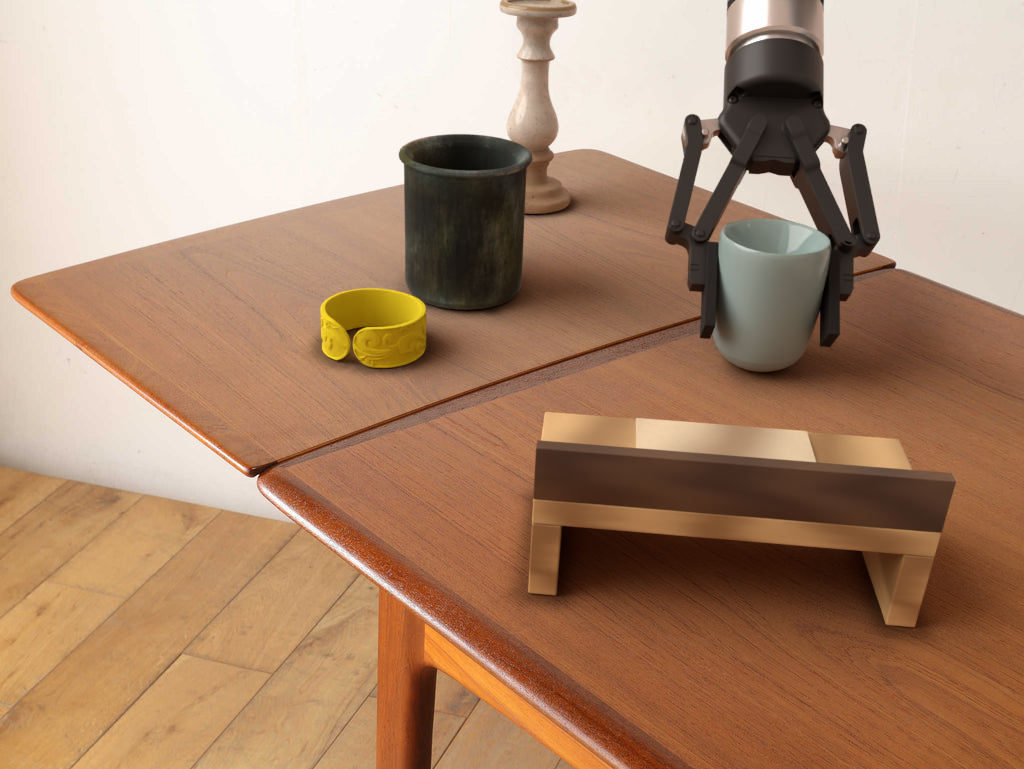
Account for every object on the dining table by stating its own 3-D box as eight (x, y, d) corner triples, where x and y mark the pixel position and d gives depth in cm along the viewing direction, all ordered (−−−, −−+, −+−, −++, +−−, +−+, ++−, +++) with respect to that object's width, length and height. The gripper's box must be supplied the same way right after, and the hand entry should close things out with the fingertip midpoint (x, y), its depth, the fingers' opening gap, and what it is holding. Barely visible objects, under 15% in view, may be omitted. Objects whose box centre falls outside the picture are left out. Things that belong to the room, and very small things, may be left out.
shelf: (877, 525, 62) (910, 391, 58) (915, 628, 54) (956, 481, 50) (539, 497, 63) (547, 364, 59) (527, 593, 55) (535, 448, 51)
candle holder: (540, 184, 118) (550, -7, 108) (586, 207, 111) (601, 6, 102) (472, 195, 113) (476, -3, 104) (516, 220, 107) (525, 10, 97)
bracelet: (348, 319, 85) (347, 281, 83) (441, 336, 83) (441, 297, 81) (304, 356, 78) (302, 316, 77) (403, 375, 76) (403, 334, 75)
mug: (398, 314, 86) (395, 170, 80) (403, 250, 98) (402, 122, 93) (531, 316, 86) (538, 173, 81) (519, 251, 99) (524, 124, 94)
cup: (685, 346, 82) (700, 223, 77) (768, 332, 85) (787, 213, 80) (742, 391, 76) (762, 260, 71) (829, 374, 78) (854, 248, 74)
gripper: (894, 96, 85) (899, 363, 78) (636, 82, 86) (620, 343, 80) (925, 39, 78) (934, 328, 71) (643, 25, 79) (626, 307, 73)
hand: (768, 336), depth 75 cm, fingers closed on cup, 8 cm apart
